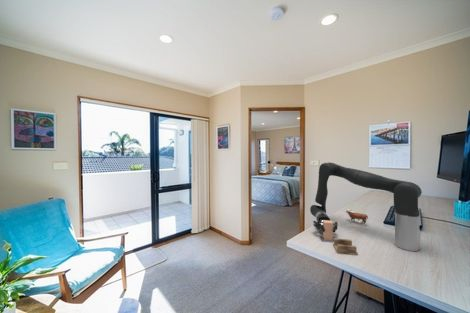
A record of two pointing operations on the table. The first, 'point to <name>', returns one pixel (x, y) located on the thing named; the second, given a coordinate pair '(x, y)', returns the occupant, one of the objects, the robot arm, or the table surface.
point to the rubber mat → (326, 240)
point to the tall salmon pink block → (328, 230)
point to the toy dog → (357, 216)
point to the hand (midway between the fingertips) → (329, 230)
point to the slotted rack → (344, 247)
